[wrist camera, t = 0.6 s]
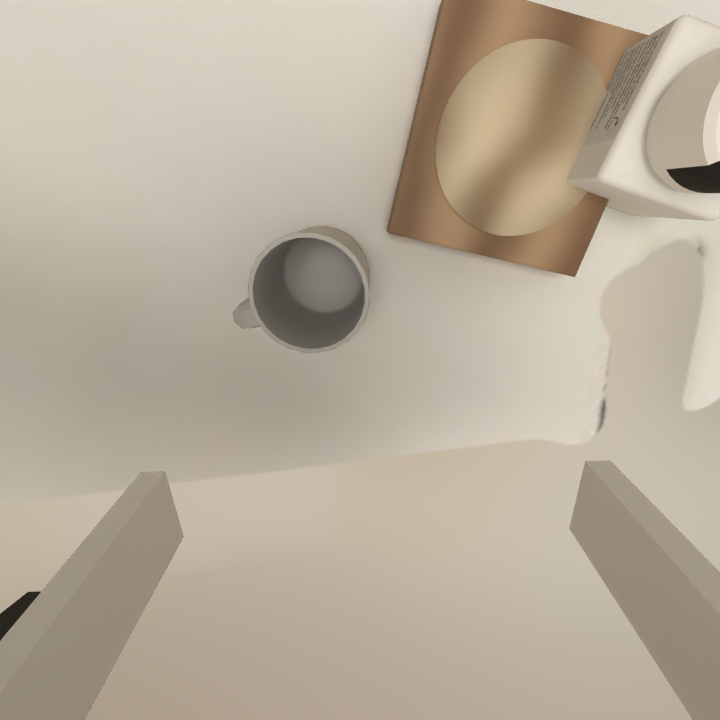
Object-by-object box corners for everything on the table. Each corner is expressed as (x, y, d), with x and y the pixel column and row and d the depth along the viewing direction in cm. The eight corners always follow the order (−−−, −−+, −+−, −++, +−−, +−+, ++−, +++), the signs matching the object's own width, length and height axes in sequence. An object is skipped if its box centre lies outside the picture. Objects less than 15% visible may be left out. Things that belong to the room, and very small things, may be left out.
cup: (381, 296, 31) (387, 327, 23) (275, 339, 33) (244, 383, 24) (347, 210, 29) (339, 210, 20) (234, 261, 30) (184, 281, 22)
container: (701, 101, 25) (983, 17, 14) (635, 216, 29) (817, 230, 17) (599, 62, 25) (798, -61, 13) (542, 184, 28) (662, 175, 16)
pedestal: (386, 230, 29) (388, 233, 26) (440, 5, 24) (450, -25, 21) (555, 270, 30) (577, 277, 27) (642, 62, 25) (680, 41, 22)
